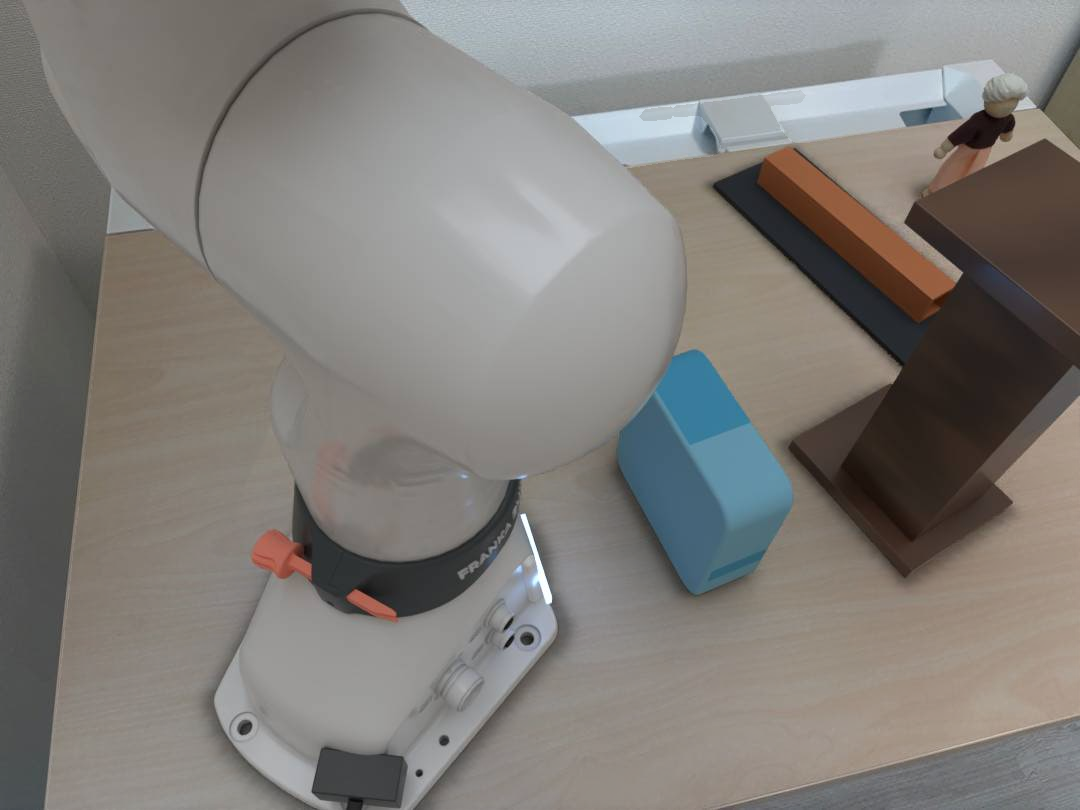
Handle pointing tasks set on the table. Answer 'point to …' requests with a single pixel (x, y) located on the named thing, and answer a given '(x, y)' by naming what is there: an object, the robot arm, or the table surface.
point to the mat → (824, 264)
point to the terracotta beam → (856, 234)
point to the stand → (967, 364)
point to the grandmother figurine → (980, 131)
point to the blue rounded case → (703, 476)
